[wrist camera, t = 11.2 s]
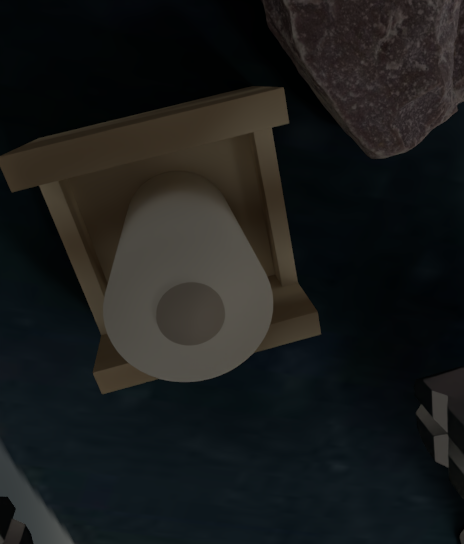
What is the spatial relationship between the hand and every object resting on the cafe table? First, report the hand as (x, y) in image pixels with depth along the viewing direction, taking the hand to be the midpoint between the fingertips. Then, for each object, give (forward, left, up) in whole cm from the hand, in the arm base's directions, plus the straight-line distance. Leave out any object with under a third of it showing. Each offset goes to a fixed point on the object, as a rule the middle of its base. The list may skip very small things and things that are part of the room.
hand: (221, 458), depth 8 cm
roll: (+1, 0, -14) cm, 14 cm away
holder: (+1, 0, -15) cm, 15 cm away
